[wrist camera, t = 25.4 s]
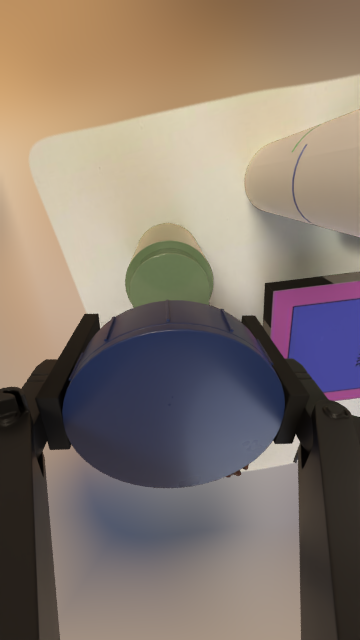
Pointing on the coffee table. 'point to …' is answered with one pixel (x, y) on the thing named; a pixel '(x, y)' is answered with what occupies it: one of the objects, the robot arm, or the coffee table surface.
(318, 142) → the cylindrical container
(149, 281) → the jar
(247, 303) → the coffee table surface
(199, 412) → the jar lid
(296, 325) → the book
